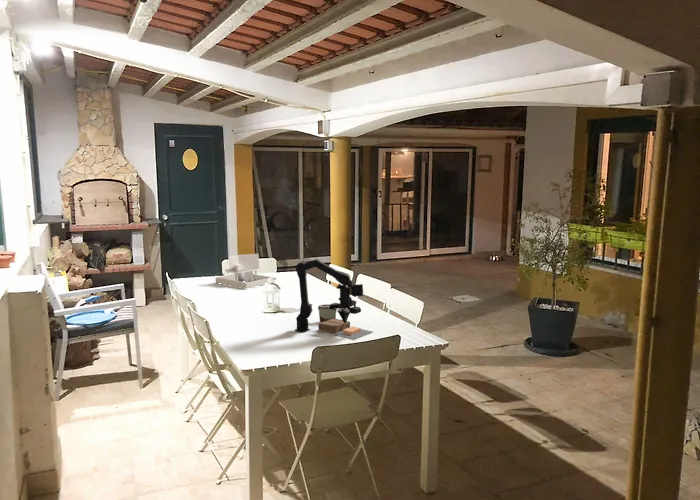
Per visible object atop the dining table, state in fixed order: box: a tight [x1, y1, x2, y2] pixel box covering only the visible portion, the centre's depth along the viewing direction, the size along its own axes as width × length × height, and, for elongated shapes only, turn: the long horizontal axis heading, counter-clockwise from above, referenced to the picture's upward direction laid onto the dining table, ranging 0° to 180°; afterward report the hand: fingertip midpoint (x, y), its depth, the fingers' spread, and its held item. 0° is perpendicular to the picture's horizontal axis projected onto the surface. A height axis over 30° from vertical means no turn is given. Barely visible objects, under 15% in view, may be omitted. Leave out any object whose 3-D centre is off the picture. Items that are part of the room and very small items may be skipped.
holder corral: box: [215, 273, 272, 290], centre depth 448 cm, size 29×36×5 cm
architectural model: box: [224, 253, 261, 283], centre depth 447 cm, size 28×21×23 cm
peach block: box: [342, 326, 362, 335], centre depth 314 cm, size 9×6×2 cm, turn 143°
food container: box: [317, 303, 338, 323], centre depth 337 cm, size 12×6×10 cm, turn 72°
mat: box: [334, 328, 374, 341], centre depth 313 cm, size 18×14×1 cm
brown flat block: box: [318, 318, 351, 335], centre depth 321 cm, size 14×12×4 cm
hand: (344, 322), depth 316 cm, fingers closed
